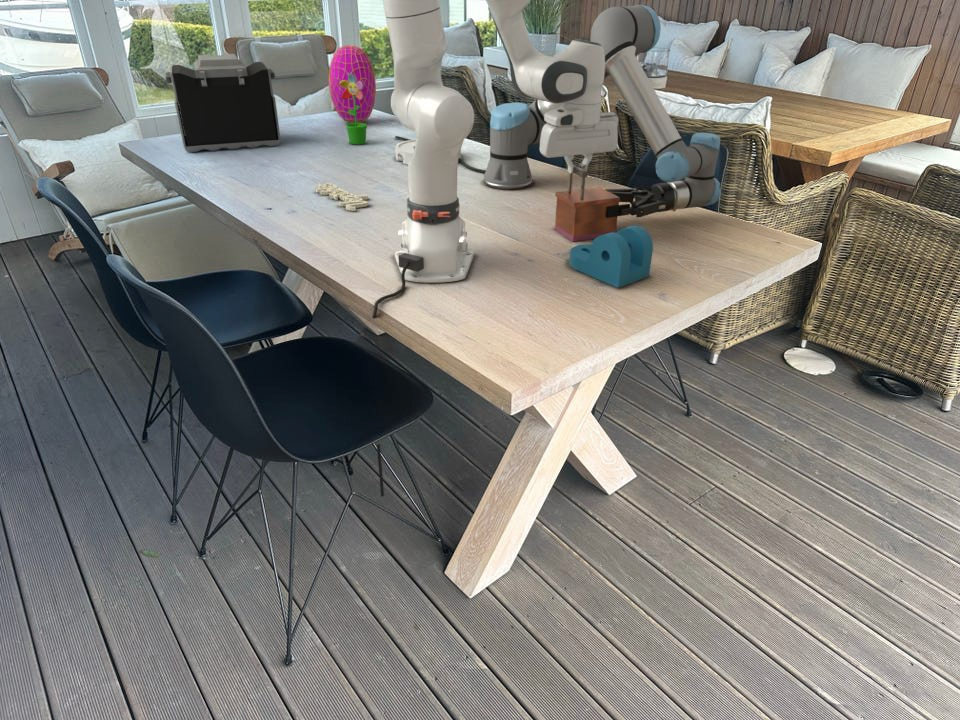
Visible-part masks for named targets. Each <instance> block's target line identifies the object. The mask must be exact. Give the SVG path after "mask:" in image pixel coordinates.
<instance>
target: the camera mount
mask: <svg viewBox="0 0 960 720" xmlns="http://www.w3.org/2000/svg"><path fill="white" fill-rule="evenodd" d="M652 239H653V238H652V237H651V235H650V234H649V232H648V230H646V229H645V228H644V227H643V226H640V225H636V224H635V225H630V226H627V227H624V228H621V229H619V230H617V231H616V233H613V232H612V233H608V234H604V235H601V236H598V237H597V238H593V241H592V243H584V244H578V245H575V246H573V247H571V248H570V250H569V261H568V265H569V266H570V267H571V268H572V269H574V270H576V271H578V272H580V273H582V274H585V275H587V276H589V277H592V278H594V279H596V280H599V281H601V282H603V283H606V284H608V285H610V286H613V287H615V288H616V289H617V288H618V289H620V288H622V287H625V286H627V285H630V284H632V283H635V282H637V281H641V280H642V279H645V278H648V277H650V274H651V273H650V272H651V266H652V259H653V258H652V257H653V252H654V243H653V240H652Z"/></svg>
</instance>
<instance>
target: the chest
mask: <svg viewBox="0 0 960 720" xmlns="http://www.w3.org/2000/svg"><path fill="white" fill-rule="evenodd" d="M616 205H620V202H619V201H618V202H611V203H603V204H595V205H588V206H580V207H573V206H571V205H569V204H568V203H566V202H564V201H563V200H561V199H559V198H558V197H556V204H555V219H554V220H555V221H554V230H555V231H556V232H558V233H560V234H561V235H562V236H564V237H566V238H567V239H568V240H570V241H571V242H579V241H586V240H592V239H593V240H594V239H595V238H597V237H598V236H601V235H604V234H608V233H612V232H613V233H617V227H618V217H619V216H617V217H610V218H607V217H606V210H607V207H608V206H616Z"/></svg>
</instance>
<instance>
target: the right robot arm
mask: <svg viewBox="0 0 960 720" xmlns="http://www.w3.org/2000/svg"><path fill="white" fill-rule="evenodd" d="M661 26H662V25H661V19H660V18H659V15H658V13H657V12H656V10H655V9H653V8H652V7H650V6H648V5H643V4H635V5H625V6H611V7H608V8H606V9H604V10H603V11H601V12H600V14H598V15H597V17H596V18H595V20H594V22H593V24H592V26H591V31H590V41H591V42H596V43H599V44H600V45H601V46H602V47H603V49H604V53H605V73H604V80H605V79H607V78H608V77H609V76H610V77H611V79H612V81H613V83H614V85H615V86H616V89H617V90H618V92H619V94H620V95H621V97H622V99H623V101H624V103H625V104H626V106H627V108H628V109H629V111H630V113H631V115H632V117H633V118H634V120H635V122H636V123H637V125H638V127H639V130H641V132H642V134H643V136H644V138H645V139H646V141H647V143H648V144H649V146H650V148H651V151H652V152H653V153H654V155H655V157H656V159H657V160H656V161H655V173H656V175H657V177H658V178H659V179H660V180H661V181H662V182H660V183H655V184H653V185H652V186H650V188H649V189H648V190H647V189H642V190H639V188H638V187H632V188H605V189H604V188H603V189H604V190H606V191H608V192H610V193H612V194H614V195H616V196H618V197H620V200H619V203H623V204H619V205H616V206H608V207H607V210H606V217H607V218H610V217H617V216H618V217H624V216H632V217H633V216H635V217H636V218H643V217H646V216H649V215H653V214H656V213H664V212H669V211H672V212H676V211H677V210H684V209H693V208H703V207H707V206H710V205H714V204H715V203H716V202H718V201H719V199H720V197H721V193H722V189H721V183H720V181H719V180H718V179H717V178H715V173H716V168H717V163H718V159H719V153H720V147H721V137H720V136H719V135H718V134H716V133H713V132H712V133H711V132H696V133H693V134H692V136H691V138H690V142H689V145H686V143H685V142H684V140H683V139H682V136H681V135H680V133H679V131H678V129H677V128H676V126H675V124H674V122H673V121H672V119H671V117H670V115H669V113H668V112H667V110H666V108H665V106H664V104H663V103H662V101H661V99H660V97H659V96H658V94H657V92H656V89H655V88H654V87H653V85H652V83H651V81H650V79H649V78H648V76H647V74H646V72H645V70H644V68H643V66H642V64H641V63H640V62H639V60H638V58H637V57H638V56H639V55H640V54H645V53H647V52H649V51H651V50H652V49H654V48H655V47H656V45H657V43H658V42H659V39H660V37H661ZM562 105H564V102H563V103H557V104H553V103H549V102H545V101H541V100H538V99H534V101H532V103H531V104H529V105H528V104H527V103H523V102H510V103H508V102H507V103H502V104H499V105H497V106H495V107H493V109H492V110H491V113H490V121H489V126H490V127H489V131H490V132H489V160H488V163H487V166H486V169H481V168H477V167H474V166H471V165H469V164H468V163H466V161H464V160H463V159H462V158H461V159H460V158H459V159H458V163H461V164H462V165H463V166H464V167H465V168H467V169H469V170H471V171H474V172H478V173H481V174H484V176H483V184H484V185H485V186H487V187H489V188H493V189H497V190H510V191H511V190H521V189H525V188H526V189H527V188H529V187H530V186H532V184H533V175H532V172H531V168H530V164H529V160H528V153H529V152H528V151H529V150H528V149H529V147H528V146H532V145H536V144H540V138H541V132H542V128H543V126H544V125H545V124H546V123H547V122H545V120H544V115H545V113H547V112H549V111H551V110H553V109H556V108H558V107H560V106H562ZM394 138H395V139H396V140H401V141H407V140H412V139H410V138H406V137H401V136H398V135H395V136H394ZM618 217H617V218H618Z"/></svg>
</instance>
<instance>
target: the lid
mask: <svg viewBox="0 0 960 720" xmlns="http://www.w3.org/2000/svg"><path fill="white" fill-rule="evenodd" d="M574 175H577V176H578V177H580V178H581V179H580V180H581V182H580V188H579V189H573V177H574ZM588 175H589V174H588V171H587V172H586V171H584V170H582V169H580V168H579V166H577V168H576V173H568V181H567V182H568V183H567V190H563V191H555V194H554V195H555V197H556V198H557V197H558V198H559V199H561V200H563V201H564V202H566V203H568V204H569V205H571V206H573V207H580V206H588V205H595V204H603V203H611V202H618V201H619V200H620V197H618V196H616V195H614V194H612V193H610V192H608V191H606V190H604V188H602V187H600V186H595V187H588V188H585V187H586V186H585V185H586V178H588Z"/></svg>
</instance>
